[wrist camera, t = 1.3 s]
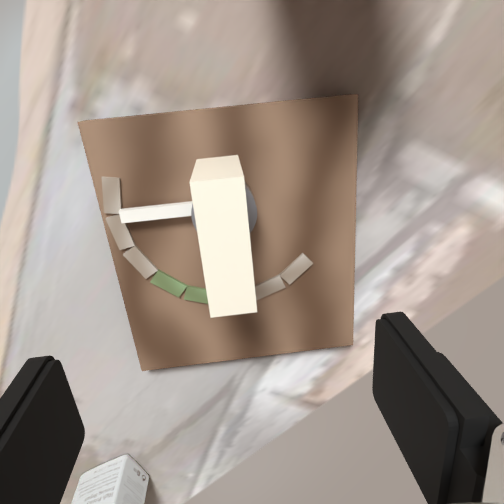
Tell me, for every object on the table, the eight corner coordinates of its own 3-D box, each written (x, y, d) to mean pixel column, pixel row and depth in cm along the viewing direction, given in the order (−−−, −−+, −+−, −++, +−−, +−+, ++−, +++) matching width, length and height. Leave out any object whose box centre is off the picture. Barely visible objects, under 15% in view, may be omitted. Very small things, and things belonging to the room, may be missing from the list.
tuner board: (351, 94, 27) (359, 94, 26) (347, 335, 36) (353, 346, 34) (84, 120, 27) (76, 122, 25) (144, 359, 35) (141, 373, 34)
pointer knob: (248, 147, 27) (262, 174, 18) (257, 247, 30) (273, 310, 21) (110, 161, 26) (58, 195, 18) (133, 261, 29) (99, 331, 21)
